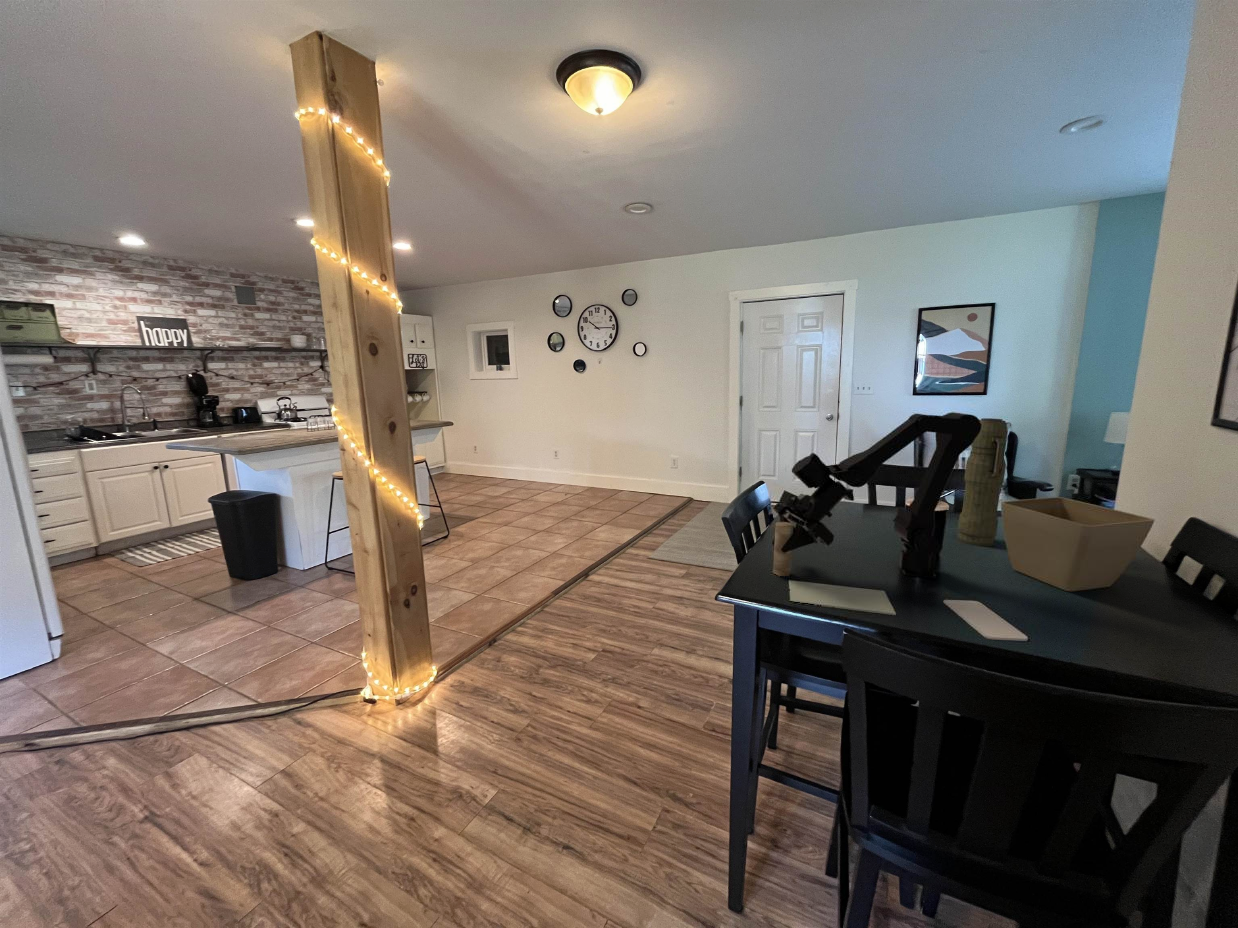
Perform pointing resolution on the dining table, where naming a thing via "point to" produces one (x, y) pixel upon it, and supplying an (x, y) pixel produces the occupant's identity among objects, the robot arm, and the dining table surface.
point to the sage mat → (841, 597)
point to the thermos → (983, 484)
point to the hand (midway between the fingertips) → (777, 548)
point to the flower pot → (1071, 541)
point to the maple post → (781, 537)
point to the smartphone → (985, 620)
